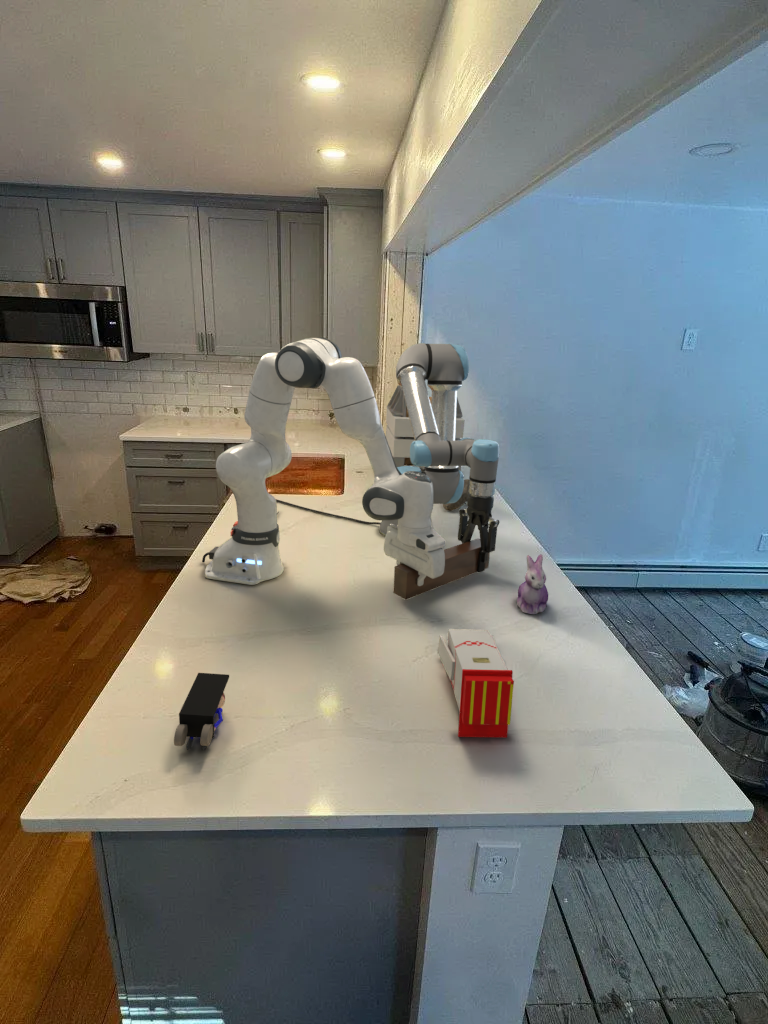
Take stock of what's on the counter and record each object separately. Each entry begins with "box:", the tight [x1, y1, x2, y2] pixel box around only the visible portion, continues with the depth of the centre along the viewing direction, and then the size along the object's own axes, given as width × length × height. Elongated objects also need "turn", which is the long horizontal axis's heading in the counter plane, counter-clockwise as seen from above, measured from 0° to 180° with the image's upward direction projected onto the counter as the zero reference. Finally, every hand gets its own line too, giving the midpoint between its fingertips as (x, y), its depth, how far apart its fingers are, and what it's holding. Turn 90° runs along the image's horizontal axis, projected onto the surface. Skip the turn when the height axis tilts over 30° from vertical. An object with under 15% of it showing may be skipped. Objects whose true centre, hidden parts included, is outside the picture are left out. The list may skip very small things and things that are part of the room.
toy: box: [437, 628, 515, 738], centre depth 117 cm, size 12×13×30 cm
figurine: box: [516, 553, 549, 615], centre depth 151 cm, size 9×10×15 cm
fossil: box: [442, 478, 469, 512], centre depth 232 cm, size 22×10×15 cm
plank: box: [392, 537, 491, 601], centre depth 161 cm, size 5×34×8 cm, turn 131°
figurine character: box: [173, 672, 230, 751], centre depth 104 cm, size 7×8×15 cm
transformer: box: [385, 384, 465, 472], centre depth 268 cm, size 34×33×41 cm
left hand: (411, 580), depth 153 cm, fingers closed on plank, 5 cm apart
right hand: (473, 567), depth 171 cm, fingers closed on plank, 5 cm apart
